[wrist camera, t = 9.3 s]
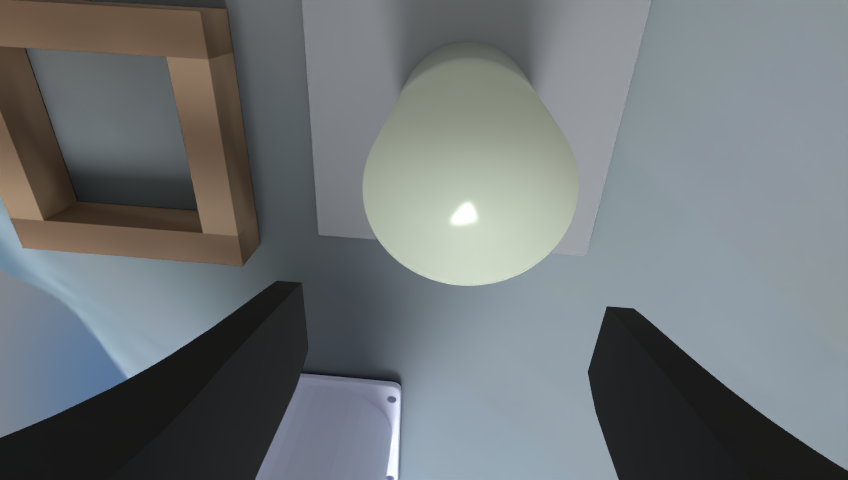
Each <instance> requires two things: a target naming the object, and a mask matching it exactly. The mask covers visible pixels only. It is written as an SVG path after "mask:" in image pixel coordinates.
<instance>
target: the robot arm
mask: <svg viewBox="0 0 848 480" xmlns="http://www.w3.org/2000/svg"><path fill="white" fill-rule="evenodd" d="M307 351H308V340H307V330H306V320H305V310H304V300H303V290H302V283H297V282H285V281H276V282H275V283H273V284H272V285H270V286H269V287H267V288H266V289H264V290H263V291H262V292H260V293H259V294H258V295H256V296H255V297H254V298H252V299H251V300H250V301H248V302H247V303H246V304H244V305H243V306H241V307H240V308H239V309H237V310H236V311H235V312H233V313H232V314H230V315H229V316H228V317H226V318H225V319H223V320H222V321H221V322H219V323H218V324H216V325H215V326H214V327H212V328H211V329H209V330H208V331H206V332H205V333H203V334H202V335H200V336H199V337H197V338H196V339H194V340H193V341H191V342H190V343H188V344H186V345H185V346H183V347H182V348H180V349H179V350H177V351H176V352H174V353H173V354H171V355H170V356H168V357H166V358H165V359H163V360H161V361H160V362H158V363H156V364H154V365H153V366H151V367H149V368H148V369H146V370H144V371H142V372H140V373H139V374H137V375H135V376H133V377H131V378H129V379H128V380H126V381H124V382H122V383H120V384H118V385H116V386H115V387H113V388H111V389H109V390H107V391H104V392H102V393H100V394H98V395H96V396H94V397H92V398H90V399H88V400H86V401H84V402H82V403H79V404H77V405H75V406H73V407H71V408H69V409H67V410H65V411H63V412H61V413H58V414H56V415H54V416H52V417H50V418H47V419H45V420H43V421H40V422H38V423H36V424H33V425H31V426H29V427H26V428H24V429H21V430H19V431H16V432H14V433H11V434H9V435H6V436H4V437H1V438H0V480H398V476H399V447H400V419H401V391H402V389H401V386H400V385H399V384H398V383H396V382H391V381H380V380H369V379H358V378H347V377H336V376H325V375H314V374H302V373H301V372H302V369H303V365H304V362H305V358H306V355H307ZM588 375H589V381H590V386H591V391H592V396H593V401H594V406H595V410H596V414H597V417H598V420H599V423H600V426H601V429H602V432H603V435H604V438H605V441H606V444H607V447H608V450H609V453H610V456H611V459H612V461H613V464H614V467H615V470H616V473H617V476H618V479H619V480H848V471H847V470H845V469H844V468H842V467H840V466H839V465H837V464H835V463H834V462H832V461H831V460H829V459H827V458H826V457H824V456H823V455H821V454H820V453H818V452H817V451H815V450H813V449H812V448H810V447H809V446H807V445H806V444H805V443H803V442H802V441H800V440H799V439H797V438H796V437H794V436H793V435H791V434H790V433H788V432H787V431H785V430H784V429H783V428H781V427H780V426H778V425H777V424H775V423H774V422H772V421H771V420H770V419H768V418H767V417H765V416H764V415H763V414H761V413H760V412H759V411H757V410H756V409H755V408H753V407H752V406H751V405H749V404H748V403H747V402H745V401H744V400H743V399H742V398H740V397H739V396H738V395H736V394H735V393H734V392H733V391H731V390H730V389H729V388H727V387H726V386H725V385H724V384H722V383H721V382H720V381H719V380H717V379H716V378H715V377H714V376H712V375H711V374H710V373H709V372H708V371H706V370H705V369H704V368H703V367H702V366H700V365H699V364H698V363H697V362H696V361H695V360H693V359H692V358H691V357H690V356H689V355H688V354H686V353H685V352H684V351H683V350H682V349H681V348H679V347H678V346H677V345H676V344H675V343H674V342H673V341H671V340H670V339H669V338H668V337H667V336H666V335H665V334H663V333H662V332H661V331H660V330H659V329H658V328H657V327H655V326H654V325H653V324H652V323H651V322H650V321H648V320H647V319H646V318H645V317H644V316H642V315H641V314H640V313H639V312H637V311H636V310H635V309H633V308H620V307H607V308H606V311H605V315H604V318H603V322H602V325H601V328H600V332H599V335H598V339H597V342H596V346H595V349H594V353H593V356H592V359H591V363H590V366H589V370H588ZM390 396H393V397H390Z"/></svg>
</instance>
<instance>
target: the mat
mask: <svg viewBox="0 0 848 480" xmlns="http://www.w3.org/2000/svg"><path fill="white" fill-rule="evenodd" d="M651 1H652V0H302V11H303V25H304V39H305V53H306V67H307V81H308V95H309V109H310V124H311V138H312V152H313V166H314V180H315V194H316V208H317V222H318V235H323V236H336V237H349V238H362V239H374V240H378V238H377V237H376V235H375V234H374V232H373V230H372V228H371V226H370V223H369V221H368V218H367V215H366V212H365V207H364V202H363V189H362V184H363V174H364V169H365V165H366V161H367V158H368V156H369V153H370V151H371V148H372V146H373V144H374V142H375V140H376V139H377V137H378V135H379V133H380V131H381V129H382V127H383V125H384V123H385V121H386V120H387V118H388V116H389V114H390V112H391V110H392V108H393V106H394V104H395V102H396V101H397V99H398V97H399V95H400V93H401V91H402V89H403V87H404V85H405V83H406V82H407V80H408V78H409V76H410V74H411V73H412V71H413V70H414V68H415V67H416V66H417V65H418V64H419V63H420V62H421V61H422V60H423V59H424V58H425V57H426V56H427V55H429V54H430V53H431V52H433V51H435V50H436V49H438V48H440V47H443V46H445V45H448V44H452V43H456V42H464V41H471V42H480V43H485V44H488V45H491V46H493V47H495V48H497V49H499V50H501V51H503V52H504V53H505V54H507V55H508V56H509V57H510V58H511V59H513V60H514V61H515V62H516V64H517V65H518V66H519V67H520V69H521V70H522V72H523V73H524V75H525V76H526V78H527V79H528V81H529V82H530V84H531V85H532V87H533V88H534V90H535V91H536V93H537V95H538V96H539V98H540V99H541V101H542V102H543V104H544V105H545V107H546V108H547V110H548V111H549V113H550V114H551V116H552V117H553V119H554V120H555V122H556V123H557V125H558V126H559V128H560V129H561V131H562V132H563V134H564V136H565V137H566V139H567V141H568V143H569V144H570V147H571V149H572V152H573V154H574V157H575V161H576V165H577V169H578V179H579V191H578V200H577V205H576V209H575V212H574V215H573V218H572V221H571V223H570V225H569V227H568V229H567V231H566V233H565V234H564V236H563V237H562V239H561V240H560V241H559V243H558V244H557V245H556V246H555V248H554V249H553V250H552V251H551V252H550V253H553V254H565V255H578V256H586V254H587V250H588V247H589V243H590V239H591V235H592V231H593V227H594V223H595V219H596V215H597V212H598V208H599V204H600V200H601V196H602V192H603V188H604V184H605V180H606V176H607V173H608V169H609V165H610V161H611V157H612V153H613V149H614V145H615V141H616V138H617V134H618V130H619V126H620V122H621V118H622V114H623V110H624V106H625V102H626V99H627V95H628V91H629V87H630V83H631V79H632V75H633V71H634V67H635V64H636V60H637V56H638V52H639V48H640V44H641V40H642V36H643V32H644V28H645V25H646V21H647V17H648V13H649V9H650V5H651Z"/></svg>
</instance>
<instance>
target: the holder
mask: <svg viewBox="0 0 848 480" xmlns="http://www.w3.org/2000/svg"><path fill="white" fill-rule="evenodd" d="M25 48H35V49H51V50H67V51H82V52H98V53H114V54H130V55H145V56H161V57H166V59H167V63H168V68H169V73H170V78H171V82H172V87H173V92H174V97H175V102H176V106H177V111H178V116H179V121H180V126H181V130H182V135H183V140H184V145H185V149H186V154H187V159H188V164H189V169H190V173H191V178H192V183H193V188H194V192H195V197H196V202H197V207H198V211H193V210H180V209H167V208H154V207H141V206H128V205H115V204H102V203H89V202H78V201H77V198H76V195H75V192H74V190H73V187H72V184H71V181H70V178H69V175H68V172H67V169H66V166H65V164H64V161H63V158H62V155H61V152H60V149H59V146H58V143H57V141H56V138H55V135H54V132H53V129H52V126H51V123H50V120H49V117H48V115H47V112H46V109H45V106H44V103H43V100H42V97H41V94H40V91H39V89H38V86H37V83H36V80H35V77H34V74H33V71H32V68H31V65H30V63H29V60H28V57H27V54H26V51H25ZM0 196H1V198H2V201H3V203H4V205H5V207H6V210H7V212H8V214H9V217H10V219H11V221H12V224H13V226H14V228H15V231H16V233H17V235H18V238H19V240H20V242H21V244H22V247H23V248H28V249H40V250H52V251H65V252H77V253H89V254H101V255H114V256H126V257H138V258H150V259H163V260H175V261H187V262H199V263H212V264H224V265H236V266H243V265H244V264H245V263H246V261H247V260H248V259H249V258H250V256H251V255H252V254H253V252H254V251H255V250H256V249H257V247H258V246H259V245H260V238H259V231H258V224H257V217H256V210H255V203H254V196H253V189H252V182H251V175H250V168H249V161H248V153H247V146H246V139H245V132H244V125H243V118H242V111H241V104H240V97H239V90H238V83H237V76H236V69H235V62H234V55H233V48H232V41H231V34H230V27H229V20H228V13H227V9H220V8H203V7H186V6H169V5H152V4H135V3H119V2H102V1H85V0H0Z"/></svg>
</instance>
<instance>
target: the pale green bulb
mask: <svg viewBox="0 0 848 480" xmlns="http://www.w3.org/2000/svg"><path fill="white" fill-rule="evenodd" d="M362 189H363V202H364V207H365V212H366V215H367V218H368V221H369V223H370V226H371V228H372V230H373V232H374V234H375V235H376V237H377V238H378V240H379V241H380V243H381V244H382V245H383V247H384V248H385V249H386V250H387V251H388V252H389V254H391V255H392V256H393V257H394V258H395V259H396V260H397V261H398V262H400V263H401V264H402V265H404V266H405V267H407V268H408V269H410V270H412V271H413V272H415V273H417V274H419V275H421V276H424V277H426V278H429V279H431V280H435V281H438V282H442V283H447V284H452V285H464V286H473V285H485V284H491V283H496V282H499V281H503V280H506V279H509V278H512V277H514V276H517V275H519V274H521V273H523V272H524V271H526V270H528V269H530V268H531V267H533V266H534V265H536V264H537V263H539V262H540V261H541V260H542V259H543V258H545V257H546V256H547V255H548V254H549V253H550V252H551V251H552V250H553V249H554V248H555V246H556V245H557V244H558V243H559V241H560V240H561V239H562V237H563V236H564V234H565V233H566V231H567V229H568V227H569V225H570V223H571V221H572V218H573V215H574V212H575V209H576V205H577V200H578V191H579V179H578V169H577V165H576V161H575V157H574V154H573V152H572V149H571V147H570V144H569V143H568V141H567V139H566V137H565V136H564V134H563V132H562V131H561V129H560V128H559V126H558V125H557V123H556V122H555V120H554V119H553V117H552V116H551V114H550V113H549V111H548V110H547V108H546V107H545V105H544V104H543V102H542V101H541V99H540V98H539V96H538V95H537V93H536V91H535V90H534V88H533V87H532V85H531V84H530V82H529V81H528V79H527V78H526V76H525V75H524V73H523V72H522V70H521V69H520V67H519V66H518V65H517V64H516V62H515V61H514V60H513V59H511V58H510V57H509V56H508V55H507V54H505V53H504V52H503V51H501V50H499V49H497V48H495V47H493V46H491V45H488V44H485V43H480V42H471V41H464V42H456V43H452V44H448V45H445V46H443V47H440V48H438V49H436V50H435V51H433V52H431V53H430V54H429V55H427V56H426V57H425V58H424V59H423V60H422V61H421V62H420V63H419V64H418V65H417V66H416V67H415V68H414V70H413V71H412V73H411V74H410V76H409V78H408V80H407V82H406V83H405V85H404V87H403V89H402V91H401V93H400V95H399V97H398V99H397V101H396V102H395V104H394V106H393V108H392V110H391V112H390V114H389V116H388V118H387V120H386V121H385V123H384V125H383V127H382V129H381V131H380V133H379V135H378V137H377V139H376V140H375V142H374V144H373V146H372V148H371V151H370V153H369V156H368V158H367V161H366V165H365V169H364V174H363V184H362Z"/></svg>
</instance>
